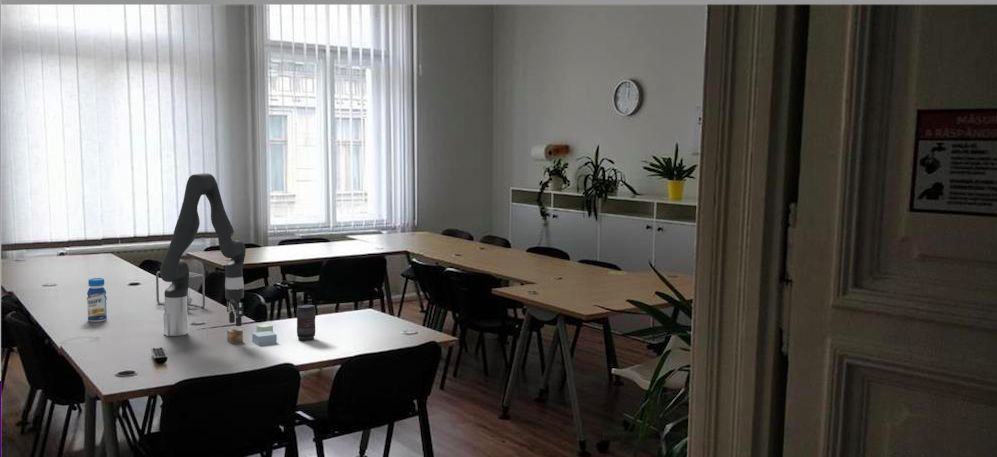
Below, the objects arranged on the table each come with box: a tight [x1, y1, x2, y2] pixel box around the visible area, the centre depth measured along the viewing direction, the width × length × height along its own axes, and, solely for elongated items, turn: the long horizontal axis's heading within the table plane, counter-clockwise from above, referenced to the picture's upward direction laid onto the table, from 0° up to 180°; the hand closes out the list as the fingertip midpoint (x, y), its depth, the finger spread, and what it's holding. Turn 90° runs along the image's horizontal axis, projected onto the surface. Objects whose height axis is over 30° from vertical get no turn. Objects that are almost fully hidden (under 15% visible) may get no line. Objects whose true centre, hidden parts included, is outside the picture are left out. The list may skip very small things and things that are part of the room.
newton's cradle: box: [155, 270, 206, 311], centre depth 416 cm, size 30×10×18 cm, turn 52°
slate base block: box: [251, 331, 278, 346], centre depth 342 cm, size 8×8×4 cm
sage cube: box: [256, 323, 274, 333], centre depth 352 cm, size 5×5×5 cm
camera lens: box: [296, 304, 317, 342], centre depth 348 cm, size 8×8×15 cm
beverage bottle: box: [86, 277, 108, 323], centre depth 378 cm, size 8×8×20 cm
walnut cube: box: [226, 328, 244, 344], centre depth 342 cm, size 5×5×5 cm
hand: (235, 324), depth 342 cm, fingers open, 8 cm apart
